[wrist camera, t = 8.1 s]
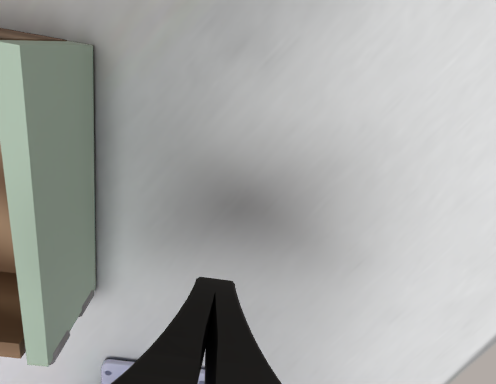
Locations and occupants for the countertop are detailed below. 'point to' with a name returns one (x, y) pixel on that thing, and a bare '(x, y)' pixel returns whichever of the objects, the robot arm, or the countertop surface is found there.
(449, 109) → the countertop surface
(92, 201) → the door
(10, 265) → the brown wooden open box
